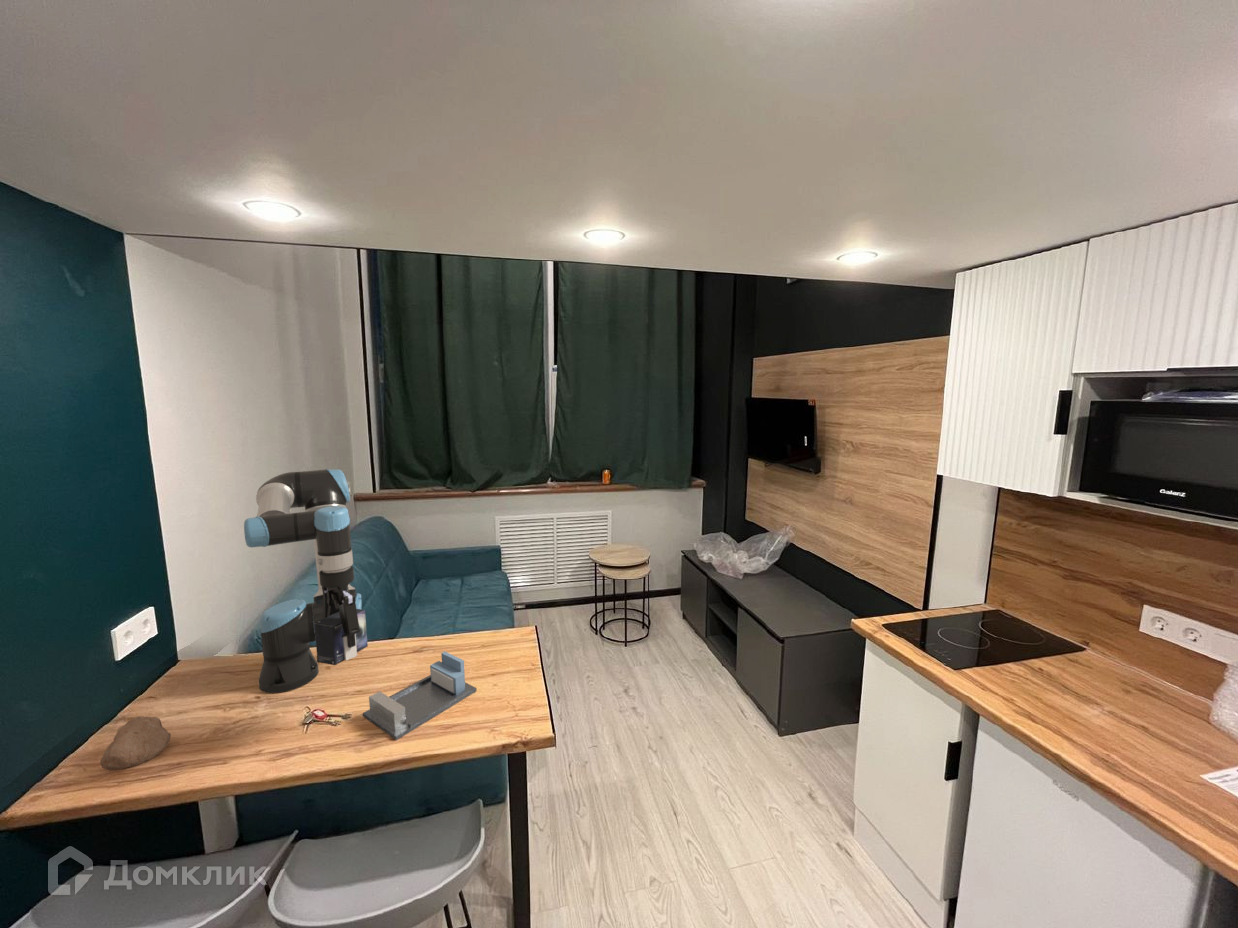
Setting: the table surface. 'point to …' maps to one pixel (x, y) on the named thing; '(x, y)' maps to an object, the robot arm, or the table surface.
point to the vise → (411, 706)
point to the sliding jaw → (449, 673)
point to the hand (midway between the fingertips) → (343, 652)
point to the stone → (136, 743)
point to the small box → (336, 638)
